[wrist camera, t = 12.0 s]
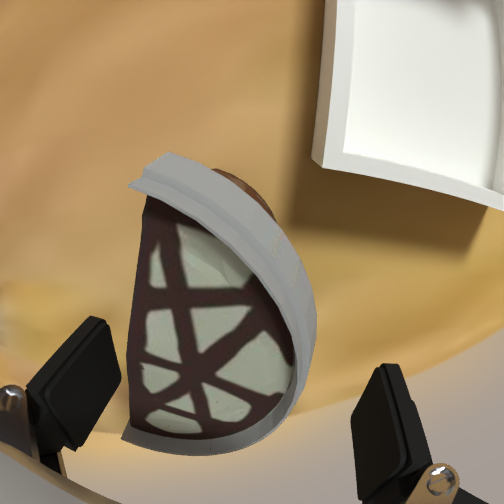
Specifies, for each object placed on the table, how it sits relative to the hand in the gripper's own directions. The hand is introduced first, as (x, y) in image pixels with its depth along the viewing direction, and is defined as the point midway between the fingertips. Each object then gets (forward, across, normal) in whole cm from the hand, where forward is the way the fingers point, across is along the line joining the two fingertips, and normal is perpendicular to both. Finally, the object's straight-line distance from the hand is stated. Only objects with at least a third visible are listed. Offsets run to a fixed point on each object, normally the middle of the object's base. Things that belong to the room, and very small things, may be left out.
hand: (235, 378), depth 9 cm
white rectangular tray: (+9, -8, -15) cm, 19 cm away
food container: (+9, +1, 0) cm, 9 cm away
